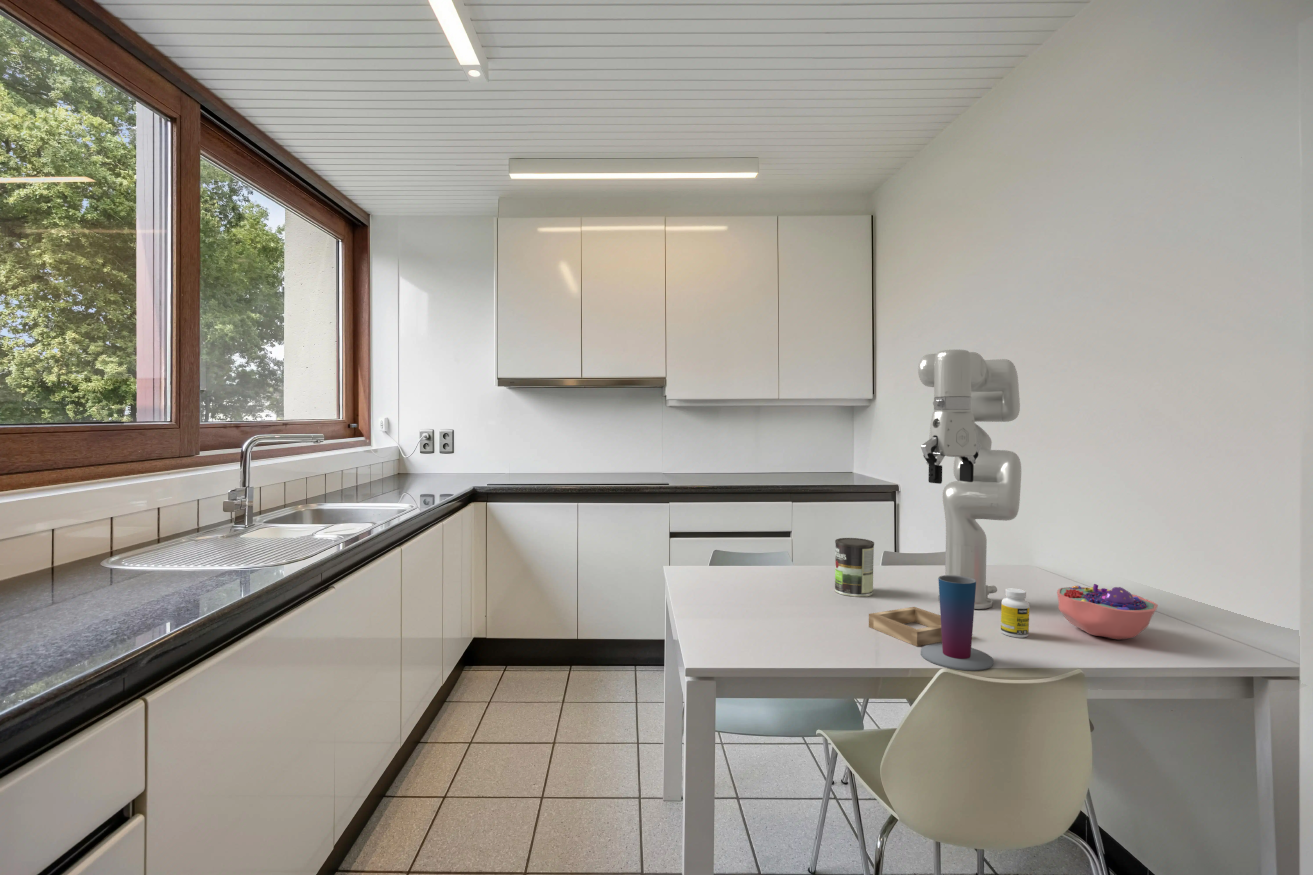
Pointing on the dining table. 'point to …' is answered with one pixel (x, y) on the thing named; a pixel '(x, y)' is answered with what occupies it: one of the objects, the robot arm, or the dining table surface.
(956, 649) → the cup
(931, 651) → the disc
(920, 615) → the socket
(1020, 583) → the dining table surface
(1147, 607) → the cell model
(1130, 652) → the dining table surface
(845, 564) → the coffee can
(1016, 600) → the supplement bottle
